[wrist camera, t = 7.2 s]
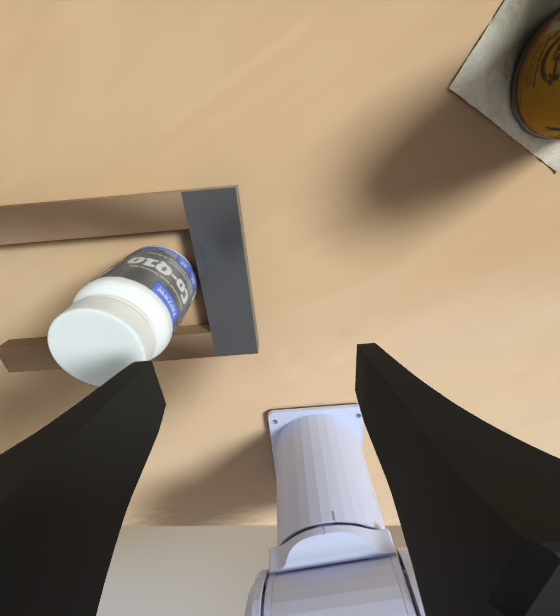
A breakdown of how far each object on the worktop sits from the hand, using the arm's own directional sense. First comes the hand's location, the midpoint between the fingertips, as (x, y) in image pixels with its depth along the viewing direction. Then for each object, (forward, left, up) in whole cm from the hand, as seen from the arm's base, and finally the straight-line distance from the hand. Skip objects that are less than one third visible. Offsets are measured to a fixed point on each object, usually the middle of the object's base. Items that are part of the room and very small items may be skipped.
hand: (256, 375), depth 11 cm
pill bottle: (0, +7, -11) cm, 13 cm away
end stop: (0, +3, -10) cm, 11 cm away
